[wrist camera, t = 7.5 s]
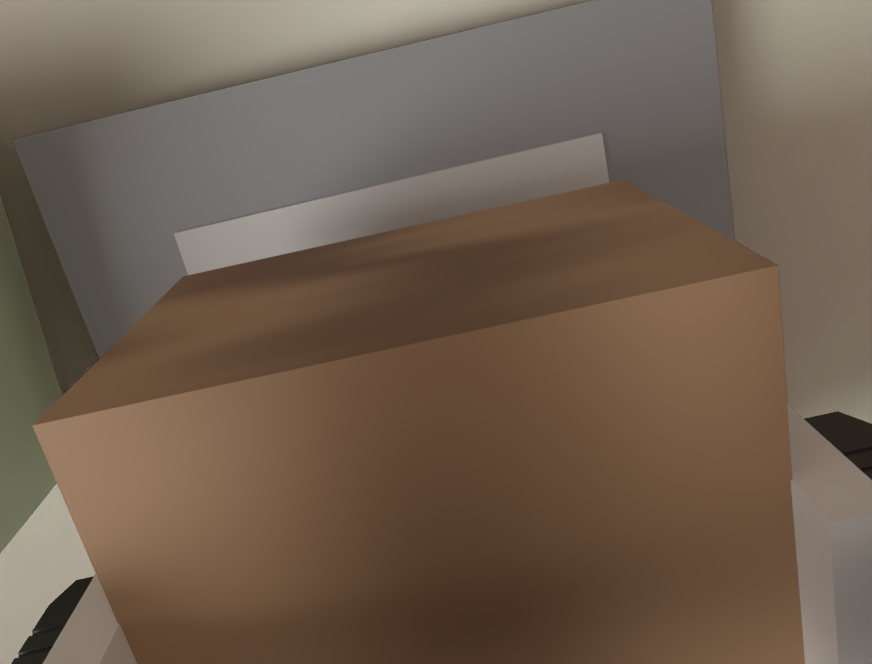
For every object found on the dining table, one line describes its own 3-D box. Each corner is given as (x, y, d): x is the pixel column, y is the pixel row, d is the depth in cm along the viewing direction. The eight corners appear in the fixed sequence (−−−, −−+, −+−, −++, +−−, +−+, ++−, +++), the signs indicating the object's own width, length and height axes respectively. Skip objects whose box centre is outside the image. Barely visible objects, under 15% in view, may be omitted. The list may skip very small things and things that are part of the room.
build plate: (237, 651, 21) (227, 687, 20) (37, 134, 17) (9, 139, 15) (746, 540, 21) (768, 570, 20) (686, -22, 16) (711, -29, 15)
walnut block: (302, 630, 17) (249, 926, 11) (182, 276, 14) (31, 426, 8) (673, 555, 16) (815, 819, 11) (623, 179, 14) (778, 264, 8)
